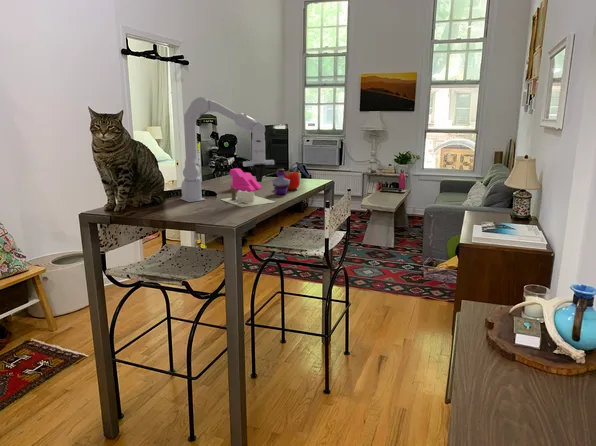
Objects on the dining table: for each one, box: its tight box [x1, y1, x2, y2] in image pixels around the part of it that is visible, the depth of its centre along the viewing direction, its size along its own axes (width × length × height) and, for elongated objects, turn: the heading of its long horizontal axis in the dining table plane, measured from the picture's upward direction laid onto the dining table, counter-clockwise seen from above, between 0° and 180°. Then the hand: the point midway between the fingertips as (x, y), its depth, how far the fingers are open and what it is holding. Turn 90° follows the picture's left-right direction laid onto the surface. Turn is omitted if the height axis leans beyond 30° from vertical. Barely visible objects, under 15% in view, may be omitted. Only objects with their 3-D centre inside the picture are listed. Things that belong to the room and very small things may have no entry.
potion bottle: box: [271, 168, 290, 196], centre depth 212 cm, size 9×9×12 cm
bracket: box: [229, 167, 263, 192], centre depth 225 cm, size 12×10×10 cm
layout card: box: [219, 194, 276, 208], centre depth 197 cm, size 19×17×1 cm
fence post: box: [230, 187, 237, 200], centre depth 197 cm, size 2×2×6 cm
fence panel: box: [236, 190, 255, 202], centre depth 195 cm, size 8×1×4 cm, turn 67°
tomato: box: [284, 171, 301, 191], centre depth 226 cm, size 11×12×9 cm
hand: (259, 181), depth 198 cm, fingers closed
